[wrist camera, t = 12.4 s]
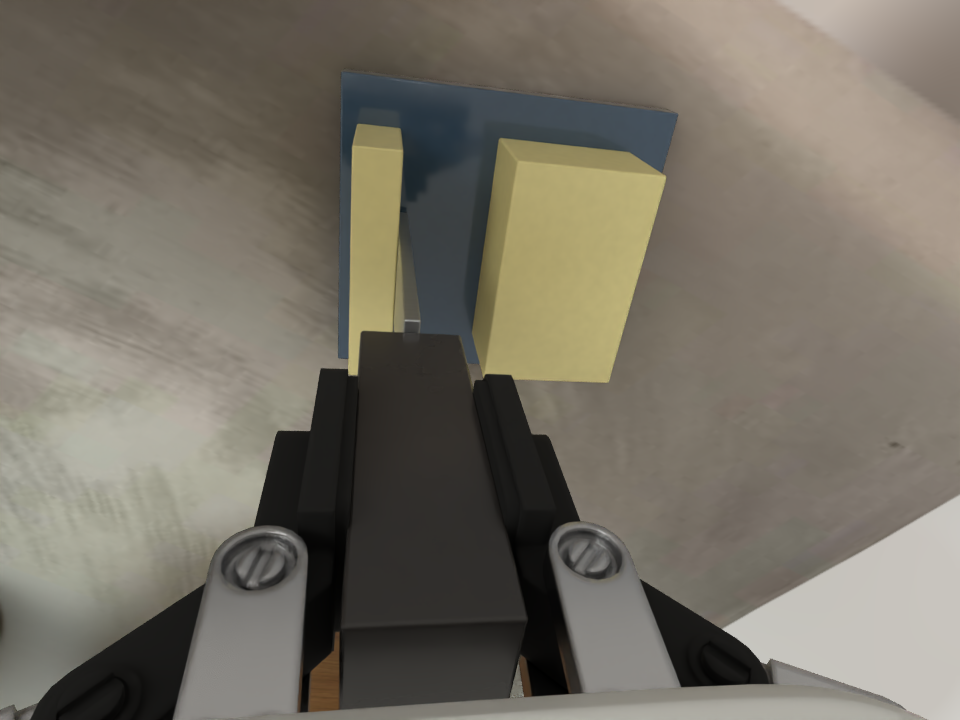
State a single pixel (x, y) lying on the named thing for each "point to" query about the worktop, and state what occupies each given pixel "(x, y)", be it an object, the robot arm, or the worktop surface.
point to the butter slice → (373, 232)
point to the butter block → (561, 259)
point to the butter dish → (467, 172)
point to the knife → (423, 527)
